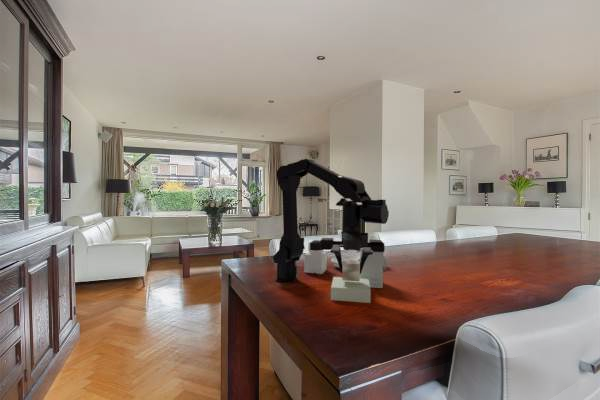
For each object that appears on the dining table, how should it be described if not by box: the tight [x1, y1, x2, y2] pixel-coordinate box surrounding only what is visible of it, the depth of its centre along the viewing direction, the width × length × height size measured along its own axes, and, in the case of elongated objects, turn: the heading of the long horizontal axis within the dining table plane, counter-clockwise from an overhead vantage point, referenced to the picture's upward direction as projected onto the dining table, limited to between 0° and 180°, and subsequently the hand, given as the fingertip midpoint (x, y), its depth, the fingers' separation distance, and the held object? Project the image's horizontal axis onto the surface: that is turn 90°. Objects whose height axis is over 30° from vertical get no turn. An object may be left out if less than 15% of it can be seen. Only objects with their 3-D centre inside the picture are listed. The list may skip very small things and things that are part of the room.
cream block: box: [341, 260, 360, 281], centre depth 89 cm, size 5×5×5 cm
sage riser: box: [330, 276, 372, 304], centre depth 89 cm, size 11×11×4 cm
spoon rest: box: [330, 251, 389, 269], centre depth 123 cm, size 24×12×7 cm, turn 101°
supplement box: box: [359, 248, 384, 289], centre depth 100 cm, size 7×7×13 cm
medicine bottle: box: [303, 239, 328, 275], centre depth 115 cm, size 7×7×12 cm
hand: (350, 273), depth 89 cm, fingers closed on cream block, 5 cm apart
